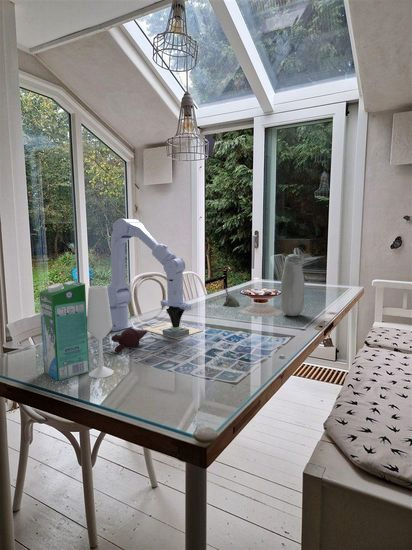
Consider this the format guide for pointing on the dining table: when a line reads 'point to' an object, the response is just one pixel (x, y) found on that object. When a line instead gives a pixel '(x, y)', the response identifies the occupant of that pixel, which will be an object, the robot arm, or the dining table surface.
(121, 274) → the robot arm
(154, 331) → the beige board
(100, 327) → the champagne flute
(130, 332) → the dark red figurine
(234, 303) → the sword in stone
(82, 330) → the milk carton
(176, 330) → the button
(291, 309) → the grey bottle
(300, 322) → the dining table surface
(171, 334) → the button housing
